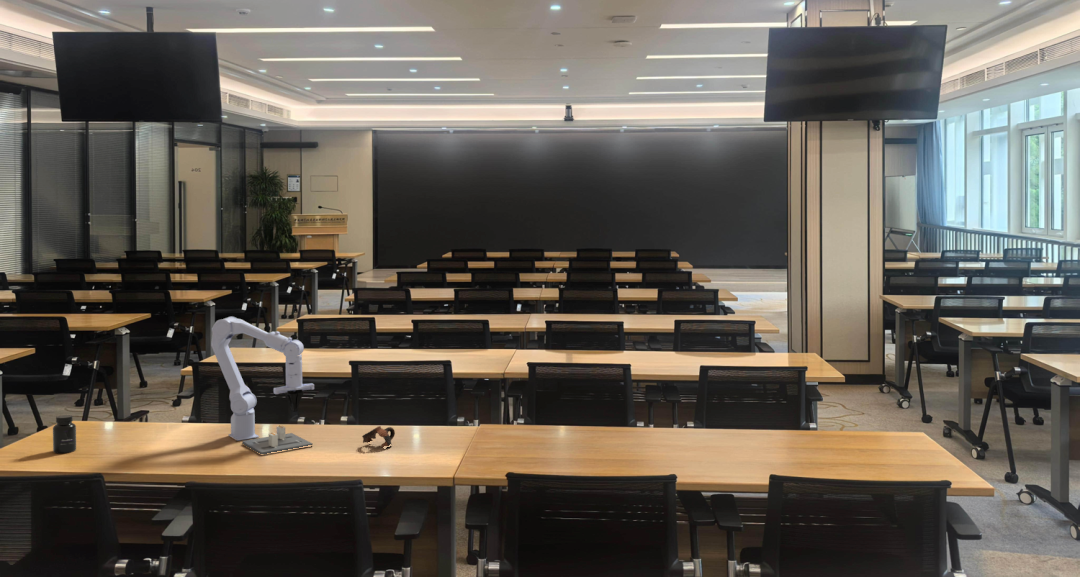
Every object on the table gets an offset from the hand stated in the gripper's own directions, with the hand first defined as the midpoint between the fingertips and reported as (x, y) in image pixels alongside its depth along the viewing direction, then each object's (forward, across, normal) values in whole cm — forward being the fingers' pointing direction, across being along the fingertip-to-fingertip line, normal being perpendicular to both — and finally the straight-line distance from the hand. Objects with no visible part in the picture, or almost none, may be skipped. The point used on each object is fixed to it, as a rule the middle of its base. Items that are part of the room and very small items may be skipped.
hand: (294, 411), depth 296 cm
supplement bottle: (+10, -68, +31) cm, 75 cm away
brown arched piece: (+10, +19, -28) cm, 36 cm away
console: (+10, -9, -6) cm, 15 cm away
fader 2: (+9, -6, -2) cm, 11 cm away
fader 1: (+8, -12, -10) cm, 18 cm away
